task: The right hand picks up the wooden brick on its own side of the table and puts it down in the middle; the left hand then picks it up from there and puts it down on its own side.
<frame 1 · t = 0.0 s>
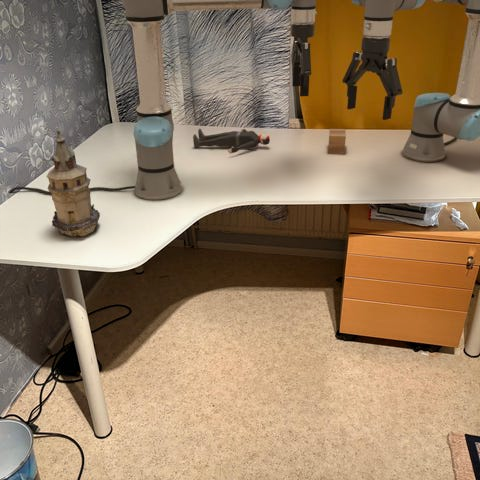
left hand: (300, 91, 180), 28 cm above the table, tool pointing down, fingers open, 13 cm apart
right hand: (368, 113, 156), 28 cm above the table, tool pointing down, fingers open, 13 cm apart
brick: (336, 150, 210), on the table
toy: (232, 146, 215), on the table
miniature building: (78, 229, 156), on the table
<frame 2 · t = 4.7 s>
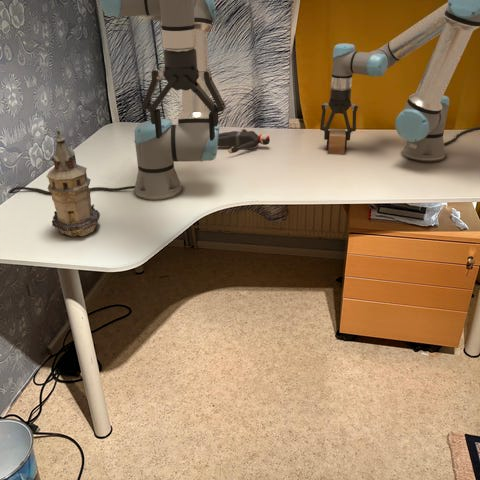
left hand: (185, 137, 133), 30 cm above the table, tool pointing down, fingers open, 13 cm apart
right hand: (336, 147, 210), 1 cm above the table, tool pointing down, fingers closed on brick, 6 cm apart
brick: (336, 150, 210), on the table, touching right hand
everything else where it was.
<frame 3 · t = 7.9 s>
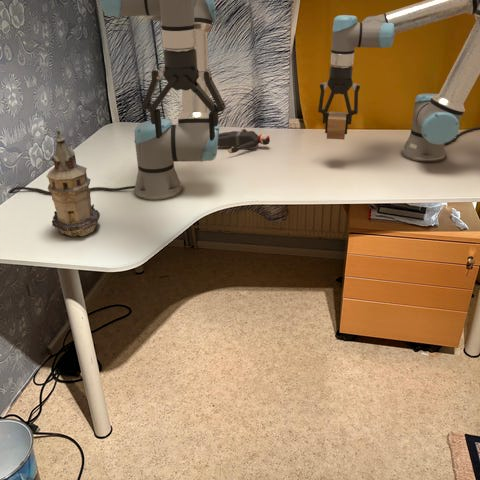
left hand: (185, 137, 133), 30 cm above the table, tool pointing down, fingers open, 13 cm apart
right hand: (336, 132, 190), 12 cm above the table, tool pointing down, fingers closed on brick, 6 cm apart
brick: (335, 135, 191), point 11 cm above the table, touching right hand
everything else where it was.
when the right hand's fingers open (2 cm above the table, at t = 11.2 s): brick drops 1 cm, on the table.
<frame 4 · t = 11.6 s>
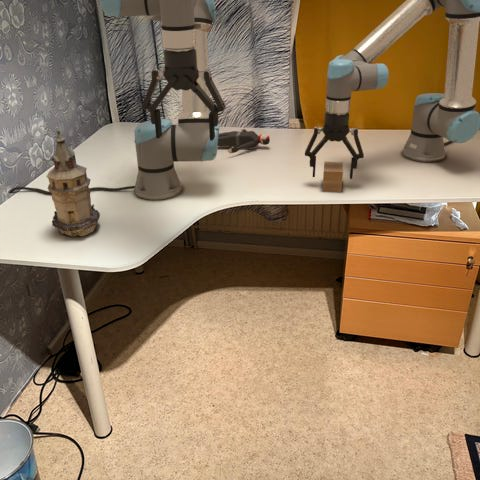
left hand: (185, 137, 133), 30 cm above the table, tool pointing down, fingers open, 13 cm apart
right hand: (332, 176, 178), 4 cm above the table, tool pointing down, fingers open, 11 cm apart
brick: (331, 186, 180), on the table
everything else where it was.
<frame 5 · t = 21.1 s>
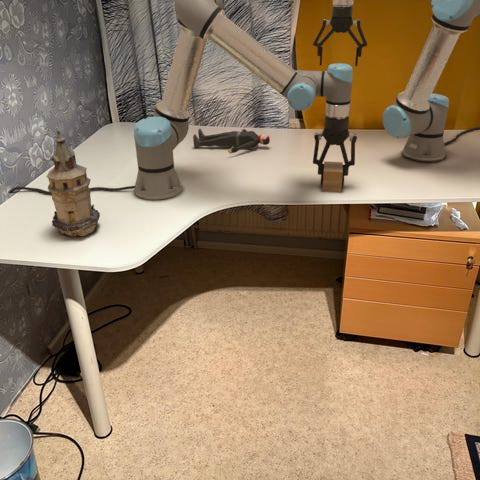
left hand: (332, 183, 179), 1 cm above the table, tool pointing down, fingers closed on brick, 6 cm apart
right hand: (338, 65, 208), 29 cm above the table, tool pointing down, fingers open, 13 cm apart
brick: (331, 186, 180), on the table, touching left hand
everything else where it was.
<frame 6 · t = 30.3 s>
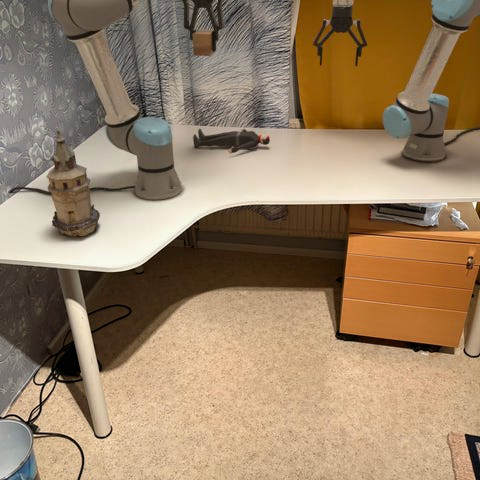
left hand: (204, 50, 188), 39 cm above the table, tool pointing down, fingers closed on brick, 6 cm apart
right hand: (338, 65, 208), 29 cm above the table, tool pointing down, fingers open, 13 cm apart
brick: (205, 53, 188), point 38 cm above the table, touching left hand
everything else where it was.
when the left hand's fingers open (2 cm above the table, at t = 39.7 s): brick drops 1 cm, on the table.
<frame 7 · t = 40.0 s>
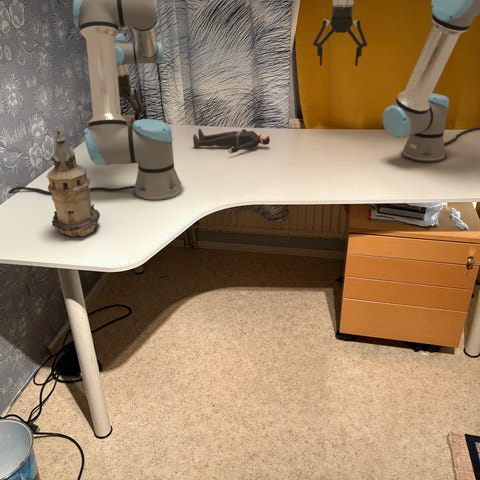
left hand: (126, 127, 229), 3 cm above the table, tool pointing down, fingers open, 10 cm apart
right hand: (338, 65, 208), 29 cm above the table, tool pointing down, fingers open, 13 cm apart
brick: (127, 134, 230), on the table
everything else where it was.
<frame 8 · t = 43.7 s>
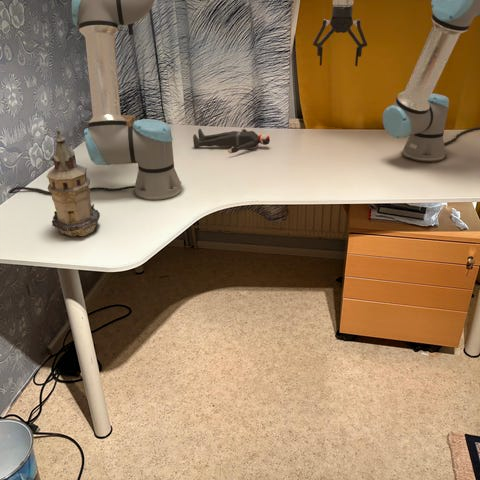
left hand: (114, 34, 210), 41 cm above the table, tool pointing down, fingers open, 13 cm apart
right hand: (338, 65, 208), 29 cm above the table, tool pointing down, fingers open, 13 cm apart
nothing on the table moved.
at the end: brick inside the target area (0.1 cm from its centre), on the table; brick tilted 0°; the two hands never held the brick at the same time; the left hand is holding nothing; the right hand is holding nothing; brick at rest at the end (0.0 cm/s) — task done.
